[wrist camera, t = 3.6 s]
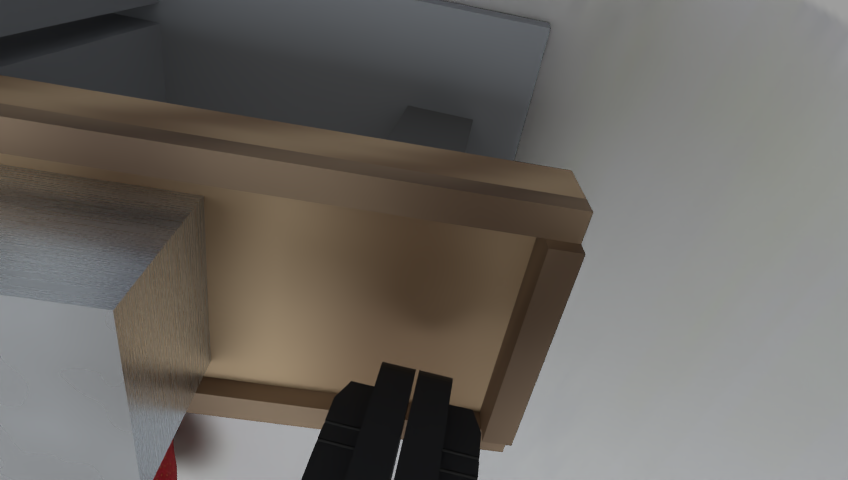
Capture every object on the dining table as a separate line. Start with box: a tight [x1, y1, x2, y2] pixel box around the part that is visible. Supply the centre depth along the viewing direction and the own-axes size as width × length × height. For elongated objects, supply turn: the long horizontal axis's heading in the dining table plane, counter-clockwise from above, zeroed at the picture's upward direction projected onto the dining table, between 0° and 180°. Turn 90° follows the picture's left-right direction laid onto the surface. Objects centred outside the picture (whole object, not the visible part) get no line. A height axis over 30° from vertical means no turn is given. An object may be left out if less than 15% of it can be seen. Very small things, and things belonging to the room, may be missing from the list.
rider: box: [0, 164, 211, 480], centre depth 11 cm, size 6×5×4 cm
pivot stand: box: [0, 0, 551, 161], centre depth 18 cm, size 30×14×11 cm, turn 80°
